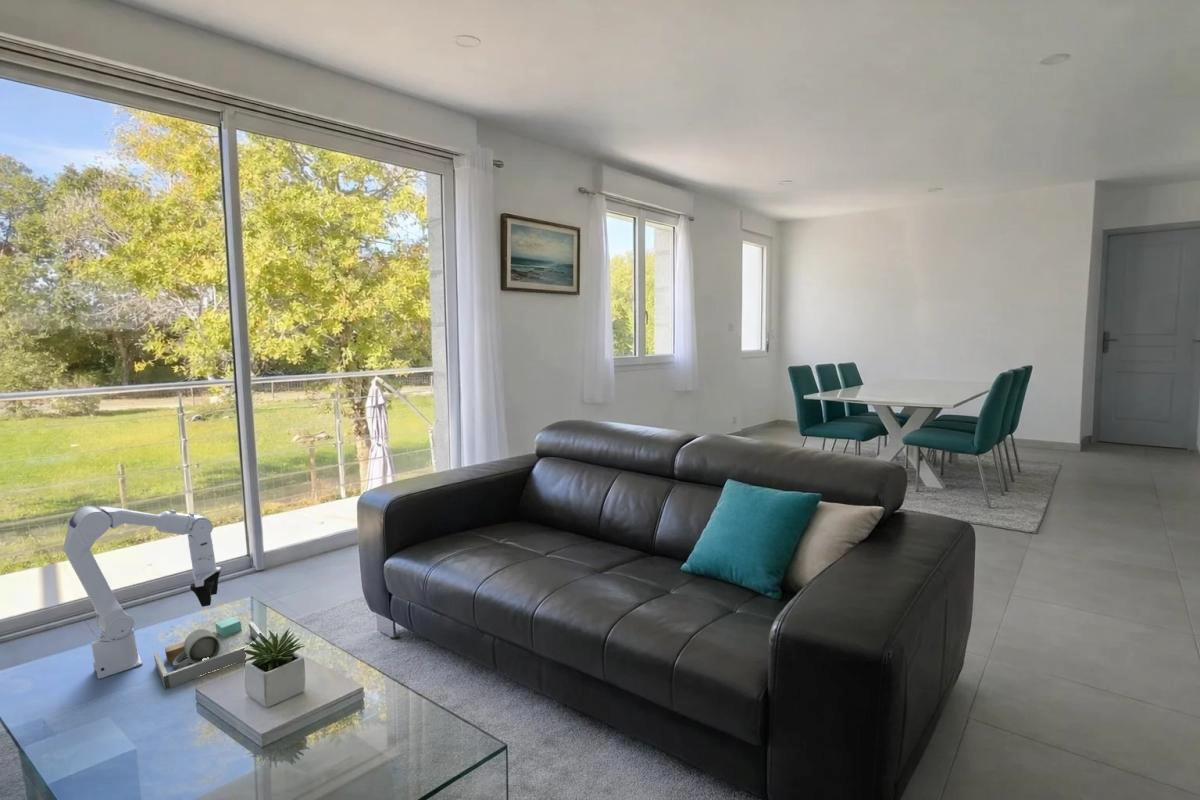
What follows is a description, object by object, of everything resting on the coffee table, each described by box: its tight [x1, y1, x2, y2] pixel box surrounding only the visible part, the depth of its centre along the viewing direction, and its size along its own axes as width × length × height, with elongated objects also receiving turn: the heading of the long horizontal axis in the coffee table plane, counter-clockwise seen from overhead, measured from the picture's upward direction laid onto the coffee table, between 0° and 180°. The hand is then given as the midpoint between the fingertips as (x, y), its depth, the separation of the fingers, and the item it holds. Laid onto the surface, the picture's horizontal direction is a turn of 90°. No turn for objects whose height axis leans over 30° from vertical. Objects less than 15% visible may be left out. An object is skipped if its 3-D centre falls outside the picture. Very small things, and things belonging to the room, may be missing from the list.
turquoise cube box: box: [214, 616, 242, 638], centre depth 189 cm, size 5×5×3 cm
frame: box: [153, 621, 263, 690], centre depth 174 cm, size 24×15×4 cm, turn 132°
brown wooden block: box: [164, 631, 219, 664], centre depth 178 cm, size 12×3×4 cm, turn 131°
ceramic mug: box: [172, 628, 221, 670], centre depth 173 cm, size 11×8×8 cm
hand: (209, 599), depth 189 cm, fingers open, 7 cm apart
